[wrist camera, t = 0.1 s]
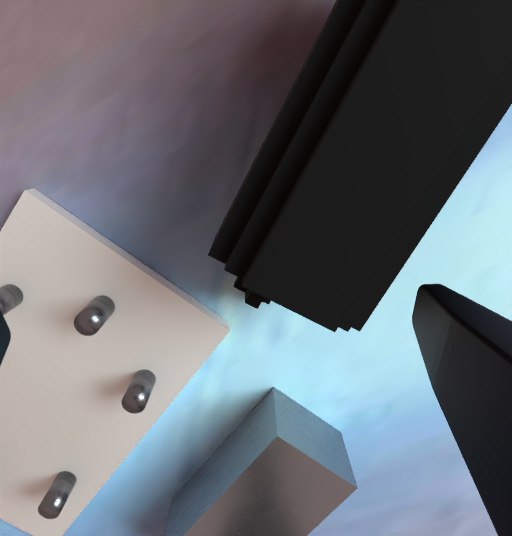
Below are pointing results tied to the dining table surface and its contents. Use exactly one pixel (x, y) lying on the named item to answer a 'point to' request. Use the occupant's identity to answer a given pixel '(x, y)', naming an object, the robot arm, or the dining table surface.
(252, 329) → the dining table surface
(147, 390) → the white peg board
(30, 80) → the dining table surface
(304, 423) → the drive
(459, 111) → the security camera
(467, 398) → the robot arm
